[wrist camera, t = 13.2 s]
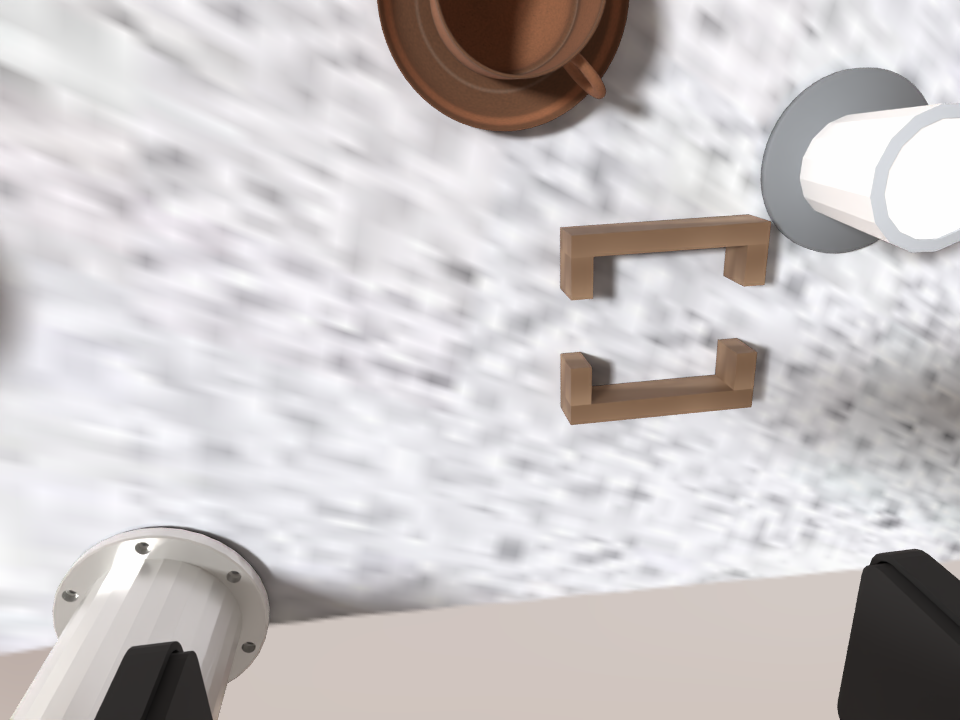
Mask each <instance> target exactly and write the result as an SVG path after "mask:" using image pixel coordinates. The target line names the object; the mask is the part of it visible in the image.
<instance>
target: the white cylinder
mask: <svg viewBox="0 0 960 720" xmlns="http://www.w3.org/2000/svg"><path fill="white" fill-rule="evenodd" d="M800 182H801V187H802V191H803V195H804V198H805V199H806V200H807V201H808V203H809V204H810V205H811V207H812V208H813V209H814V210H815V211H817V212H819V213H821V214H824V215H826V216H828V217H830V218H833V219H835V220H837V221H840V222H842V223H844V224H847V225H849V226H851V227H853V228H856V229H858V230H860V231H863V232H865V233H867V234H870V235H872V236H874V237H877V238H879V239H881V240H884V241H886V242H888V243H891V244H893V245H895V246H897V247H900V248H902V249H904V250H907V251H909V252H933V251H938V250H941V249H943V248H945V247H947V246H950V245H952V244H954V243H956V242H959V241H960V103H942V104H934V105H926V106H917V107H909V108H901V109H892V110H884V111H876V112H867V113H859V114H850V115H846V116H844V117H841V118H839V119H837V120H835V121H832V122H830V123H828V124H827V125H826V126H825V127H824V128H823V129H822V130H821V131H820V132H819V133H818V134H817V135H816V136H815V137H814V138H813V139H812V141H811V143H810V145H809V147H808V149H807V151H806V153H805V155H804V156H803V159H802V166H801V173H800Z"/></svg>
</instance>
